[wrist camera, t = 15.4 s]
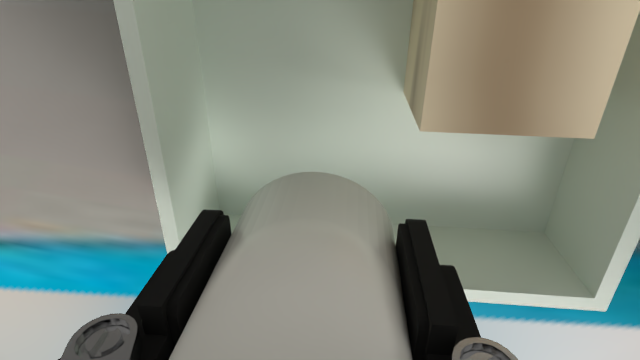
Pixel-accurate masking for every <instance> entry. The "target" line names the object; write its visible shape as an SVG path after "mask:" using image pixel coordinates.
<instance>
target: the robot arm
mask: <svg viewBox="0 0 640 360" xmlns="http://www.w3.org/2000/svg"><path fill="white" fill-rule="evenodd" d="M231 235H232V234H231V226H230V218H229V216H228V215H224V213H223V211H222V210H206V209H204V210H202V211H201V213H200V214H199V216H198V217H197V218H196V220H195V221H194V223H193V224H192V226H191V227H190V229H189V230H188V232H187V233H186V234H185V236H184V237H183V239H182V240H181V242H180V243H179V245H178V246H177V248H176V249H175V250H172V251H170V252H169V253H168V254H167V255H166V257H165V258H164V260H163V261H162V262H161V264H160V265H159V267H158V268H157V270H156V271H155V272H154V274H153V275H152V277H151V278H150V279H149V281H148V282H147V284H146V285H145V287H144V288H143V289H142V291H141V292H140V294H139V295H138V297H137V298H136V299H135V301H134V302H133V304H132V305H131V306H130V308H129V309H128V311H127V312H126V314H109V315H105V316H101V317H99V318H96V319H94V320H92V321H90V322H88V323H87V324H85V325H84V326H82V327H81V328H80V329H79V330H78V331H77V332H76V333H75V334H74V335H73V336H72V338H71V339H70V341H69V342H68V344H67V347H66V348H65V351H64V353H63V355H62V357H61V358H60V359H58V360H169V358H170V356H171V354H172V352H173V350H174V348H175V346H176V344H177V342H178V340H179V338H180V336H181V334H182V332H183V330H184V328H185V326H186V324H187V322H188V320H189V318H190V316H191V314H192V312H193V310H194V308H195V306H196V304H197V302H198V300H199V298H200V296H201V294H202V292H203V290H204V288H205V286H206V284H207V282H208V280H209V278H210V276H211V274H212V273H213V271H214V269H215V267H216V265H217V263H218V261H219V259H220V257H221V255H222V253H223V251H224V249H225V247H226V245H227V243H228V241H229V239H230V237H231ZM396 251H397V258H398V264H399V271H400V278H401V285H402V291H403V298H404V305H405V311H406V318H407V325H408V332H409V338H410V345H411V352H412V359H413V360H518V359H517V358H516V357H515V356H514V355H513V354H512V353H511V352H510V351H509V350H508V349H507V348H505V347H503V346H502V345H500V344H499V343H497V342H494V341H492V340H489V339H485V338H481V336H480V334H479V331H478V328H477V325H476V323H475V320H474V317H473V314H472V312H471V309H470V306H469V304H468V301H467V298H466V295H465V293H464V290H463V287H462V284H461V282H460V279H459V276H458V273H457V271H456V269H455V267H454V266H453V265H440V264H439V261H438V258H437V254H436V251H435V248H434V245H433V242H432V238H431V235H430V232H429V229H428V226H427V222H426V220H421V219H406V221H405V224H403V223H399V225H398V231H397V240H396Z"/></svg>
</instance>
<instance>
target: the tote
mask: <svg viewBox="0 0 640 360" xmlns="http://www.w3.org/2000/svg"><path fill="white" fill-rule="evenodd" d="M413 1H414V0H113V2H114V7H115V11H116V16H117V21H118V25H119V30H120V35H121V39H122V44H123V49H124V53H125V58H126V63H127V67H128V72H129V77H130V81H131V86H132V91H133V95H134V100H135V105H136V109H137V114H138V119H139V123H140V128H141V133H142V138H143V142H144V147H145V152H146V156H147V161H148V166H149V170H150V175H151V180H152V184H153V189H154V194H155V198H156V203H157V208H158V212H159V217H160V222H161V226H162V231H163V236H164V240H165V245H166V250H167V254H168V253H169V252H170V251H172V250H175V249H176V248H177V246H178V245H179V243H180V242H181V240H182V239H183V237H184V236H185V234H186V233H187V232H188V230H189V229H190V227H191V226H192V224H193V223H194V221H195V220H196V218H197V217H198V216H199V214H200V213H201V211H202V210H204V209H206V210H222V211H223V213H224V215H228V216H229V218H230V226H231V234H232V233H233V231H234V229H235V227H236V225H237V223H238V221H239V219H240V217H241V215H242V213H243V211H244V209H245V207H246V205H247V204H248V202H249V201H250V199H251V198H252V197H253V196H254V195H255V193H256V192H257V191H258V190H260V189H261V188H262V187H264V186H265V185H266V184H268V183H270V182H272V181H273V180H275V179H278V178H280V177H283V176H286V175H290V174H293V173H300V172H323V173H330V174H334V175H338V176H341V177H344V178H347V179H349V180H351V181H353V182H355V183H357V184H359V185H361V186H362V187H364V188H365V189H367V190H368V191H369V192H370V193H371V194H373V195H374V196H375V197H376V198H377V199H378V201H379V202H380V203H381V204H382V205H383V207H384V208H385V210H386V211H387V213H388V215H389V218H390V220H391V223H392V226H393V231H394V237H395V244H396V240H397V231H398V225H399V223H403V224H405V221H406V219H421V220H426V222H427V226H428V229H429V232H430V235H431V238H432V242H433V245H434V248H435V251H436V254H437V258H438V261H439V264H440V265H453V266H454V267H455V269H456V271H457V273H458V276H459V279H460V282H461V284H462V287H463V290H464V293H465V295H466V298H467V301H469V302H482V303H496V304H510V305H523V306H537V307H551V308H564V309H578V310H592V311H605V312H606V310H607V308H608V306H609V304H610V302H611V300H612V297H613V295H614V293H615V291H616V289H617V287H618V284H619V282H620V280H621V278H622V276H623V274H624V271H625V269H626V267H627V265H628V263H629V261H630V258H631V256H632V254H633V252H634V250H635V248H636V245H637V243H638V241H639V239H640V11H639V14H638V17H637V20H636V23H635V25H634V28H633V31H632V34H631V37H630V39H629V42H628V45H627V48H626V51H625V54H624V56H623V59H622V62H621V65H620V68H619V71H618V73H617V76H616V79H615V82H614V85H613V87H612V90H611V93H610V96H609V99H608V102H607V104H606V107H605V110H604V113H603V116H602V118H601V121H600V124H599V127H598V130H597V133H596V135H595V138H594V139H586V138H563V137H539V136H516V135H493V134H469V133H446V132H423V131H420V130H419V128H418V126H417V123H416V121H415V119H414V116H413V114H412V111H411V109H410V107H409V104H408V102H407V100H406V97H405V95H404V93H403V92H404V82H405V73H406V64H407V55H408V46H409V37H410V28H411V19H412V10H413Z"/></svg>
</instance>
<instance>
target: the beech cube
mask: <svg viewBox="0 0 640 360" xmlns="http://www.w3.org/2000/svg"><path fill="white" fill-rule="evenodd" d="M639 11H640V0H414V1H413V10H412V19H411V28H410V37H409V46H408V55H407V64H406V73H405V82H404V92H403V93H404V95H405V97H406V100H407V102H408V104H409V107H410V109H411V111H412V114H413V116H414V119H415V121H416V123H417V126H418V128H419V130H420V131H423V132H446V133H469V134H493V135H516V136H539V137H563V138H586V139H594V138H595V135H596V133H597V130H598V127H599V124H600V121H601V118H602V116H603V113H604V110H605V107H606V104H607V102H608V99H609V96H610V93H611V90H612V87H613V85H614V82H615V79H616V76H617V73H618V71H619V68H620V65H621V62H622V59H623V56H624V54H625V51H626V48H627V45H628V42H629V39H630V37H631V34H632V31H633V28H634V25H635V23H636V20H637V17H638V14H639Z"/></svg>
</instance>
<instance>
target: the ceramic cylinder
mask: <svg viewBox="0 0 640 360" xmlns="http://www.w3.org/2000/svg"><path fill="white" fill-rule="evenodd" d="M169 360H413V359H412V352H411V345H410V338H409V332H408V325H407V318H406V311H405V305H404V298H403V291H402V285H401V278H400V271H399V264H398V258H397V251H396V244H395V237H394V231H393V226H392V223H391V220H390V218H389V215H388V213H387V211H386V210H385V208H384V207H383V205H382V204H381V203H380V202H379V201H378V199H377V198H376V197H375V196H374V195H373V194H371V193H370V192H369V191H368V190H367V189H365V188H364V187H362V186H361V185H359V184H357V183H355V182H353V181H351V180H349V179H347V178H344V177H341V176H338V175H334V174H330V173H323V172H300V173H293V174H290V175H286V176H283V177H280V178H278V179H275V180H273V181H272V182H270V183H268V184H266V185H265V186H264V187H262V188H261V189H260V190H258V191H257V192H256V193H255V195H254V196H253V197H252V198H251V199H250V201H249V202H248V204H247V205H246V207H245V209H244V211H243V213H242V215H241V217H240V219H239V221H238V223H237V225H236V227H235V229H234V231H233V233H232V235H231V237H230V239H229V241H228V243H227V245H226V247H225V249H224V251H223V253H222V255H221V257H220V259H219V261H218V263H217V265H216V267H215V269H214V271H213V273H212V274H211V276H210V278H209V280H208V282H207V284H206V286H205V288H204V290H203V292H202V294H201V296H200V298H199V300H198V302H197V304H196V306H195V308H194V310H193V312H192V314H191V316H190V318H189V320H188V322H187V324H186V326H185V328H184V330H183V332H182V334H181V336H180V338H179V340H178V342H177V344H176V346H175V348H174V350H173V352H172V354H171V356H170V358H169Z"/></svg>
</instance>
